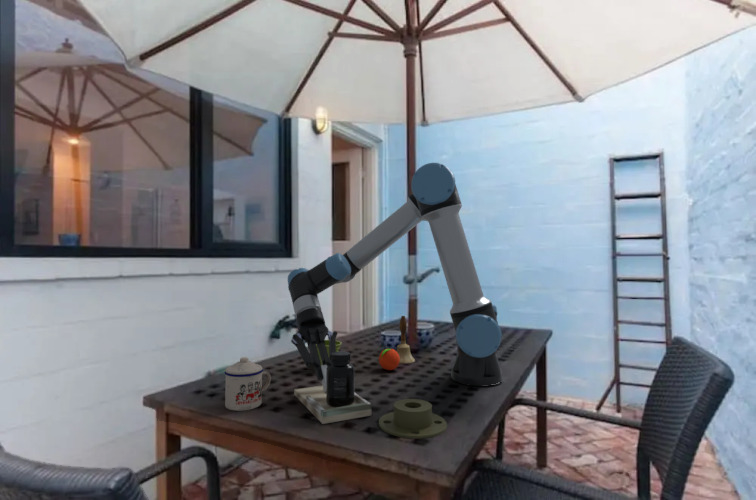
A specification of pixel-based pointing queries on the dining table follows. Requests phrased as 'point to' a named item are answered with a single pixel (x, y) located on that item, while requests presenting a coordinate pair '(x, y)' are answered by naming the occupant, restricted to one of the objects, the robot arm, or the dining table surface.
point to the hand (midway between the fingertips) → (328, 390)
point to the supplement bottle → (340, 380)
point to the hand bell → (404, 345)
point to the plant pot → (328, 348)
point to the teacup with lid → (244, 385)
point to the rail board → (327, 413)
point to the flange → (412, 420)
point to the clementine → (389, 359)
